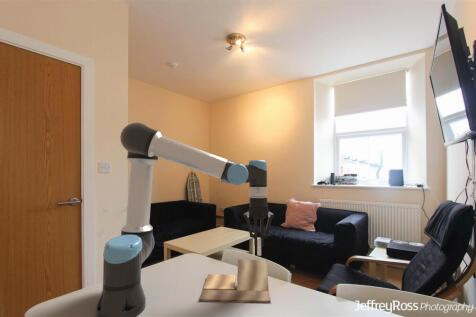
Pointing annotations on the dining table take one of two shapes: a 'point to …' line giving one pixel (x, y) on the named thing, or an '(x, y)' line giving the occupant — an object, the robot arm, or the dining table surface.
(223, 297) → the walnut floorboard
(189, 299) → the dining table surface
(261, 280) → the square wooden panel
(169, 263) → the dining table surface
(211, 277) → the striped wooden square slab
